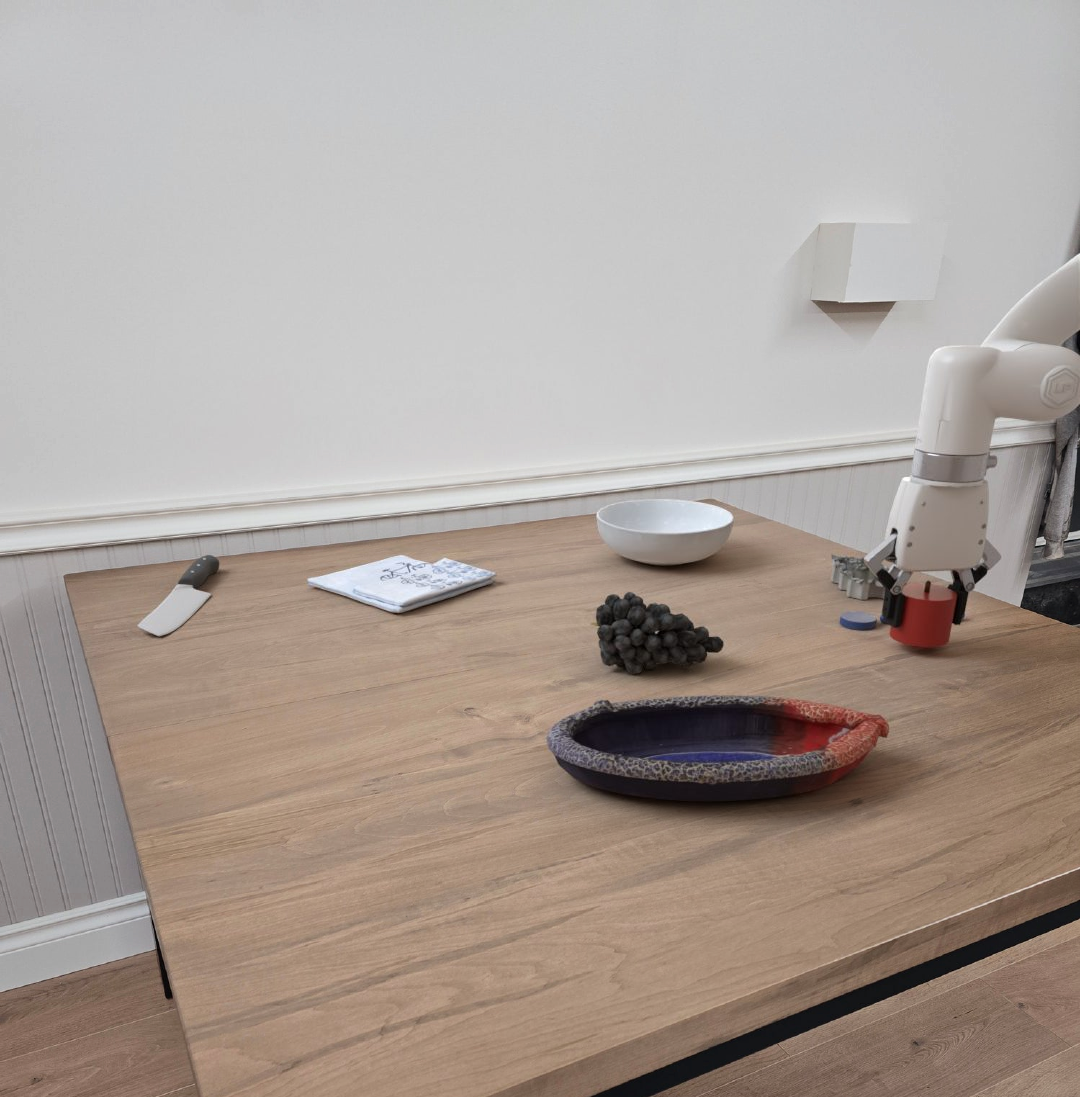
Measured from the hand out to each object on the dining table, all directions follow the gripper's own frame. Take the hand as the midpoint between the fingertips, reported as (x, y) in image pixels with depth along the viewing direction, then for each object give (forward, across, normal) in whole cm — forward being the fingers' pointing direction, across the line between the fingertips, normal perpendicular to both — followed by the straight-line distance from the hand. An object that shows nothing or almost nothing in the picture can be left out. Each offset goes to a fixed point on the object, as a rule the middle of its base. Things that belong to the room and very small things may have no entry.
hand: (921, 621), depth 113 cm
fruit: (+4, +32, +2) cm, 32 cm away
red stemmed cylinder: (+2, 0, 0) cm, 2 cm away
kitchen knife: (+4, +90, -30) cm, 95 cm away
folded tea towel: (+4, +61, -33) cm, 69 cm away
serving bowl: (+4, +21, -42) cm, 47 cm away
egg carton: (+4, -3, -23) cm, 23 cm away
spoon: (+3, -2, -9) cm, 10 cm away
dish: (+4, +32, +27) cm, 42 cm away
